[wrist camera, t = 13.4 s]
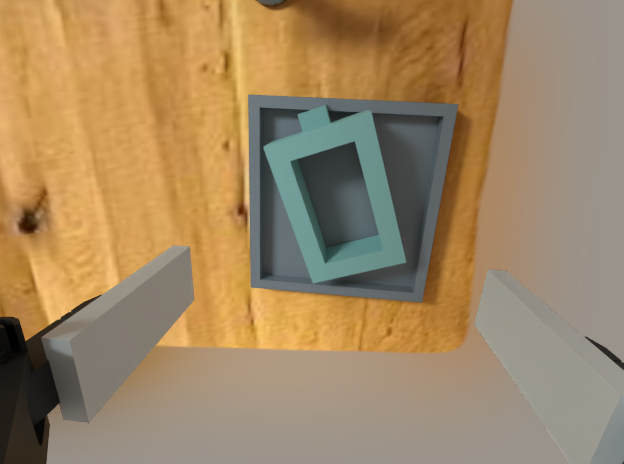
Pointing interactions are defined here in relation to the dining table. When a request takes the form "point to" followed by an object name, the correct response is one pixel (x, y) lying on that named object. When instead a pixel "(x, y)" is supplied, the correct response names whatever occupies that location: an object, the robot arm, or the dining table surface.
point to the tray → (349, 193)
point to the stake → (271, 2)
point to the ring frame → (299, 206)
